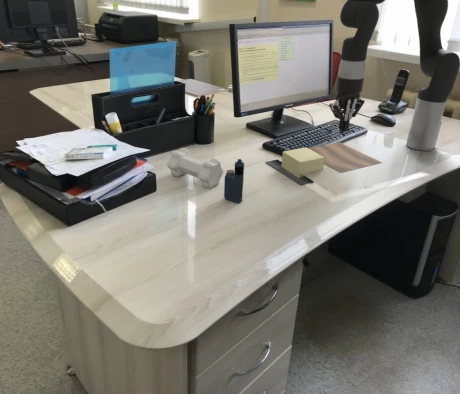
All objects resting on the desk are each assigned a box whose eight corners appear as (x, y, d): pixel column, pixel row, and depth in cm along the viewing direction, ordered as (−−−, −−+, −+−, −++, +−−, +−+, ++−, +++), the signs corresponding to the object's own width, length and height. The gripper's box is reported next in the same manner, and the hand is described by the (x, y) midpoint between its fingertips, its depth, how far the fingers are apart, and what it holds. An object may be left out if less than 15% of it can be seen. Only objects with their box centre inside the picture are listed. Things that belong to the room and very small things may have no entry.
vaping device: (239, 205, 112) (241, 162, 106) (222, 199, 114) (223, 157, 108) (244, 201, 114) (246, 159, 108) (227, 195, 116) (228, 154, 110)
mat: (300, 155, 143) (300, 154, 143) (337, 176, 129) (337, 175, 129) (265, 162, 137) (265, 161, 137) (300, 185, 123) (301, 184, 123)
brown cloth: (338, 146, 152) (339, 142, 151) (381, 166, 137) (382, 162, 136) (298, 154, 144) (298, 150, 143) (339, 177, 129) (340, 173, 128)
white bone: (223, 184, 123) (226, 158, 120) (204, 192, 117) (206, 164, 113) (184, 170, 131) (186, 145, 128) (164, 177, 124) (165, 150, 121)
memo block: (304, 161, 138) (306, 147, 135) (322, 172, 131) (324, 157, 128) (281, 166, 134) (282, 151, 131) (298, 177, 127) (300, 162, 124)
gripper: (343, 80, 121) (335, 138, 129) (376, 75, 127) (367, 131, 135) (325, 75, 126) (319, 131, 135) (357, 70, 132) (350, 124, 141)
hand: (343, 131), depth 135 cm, fingers closed
